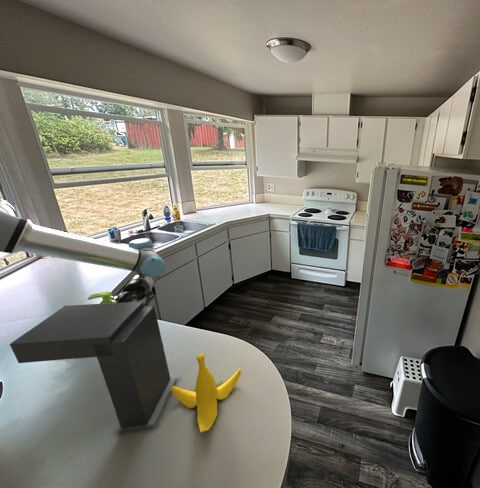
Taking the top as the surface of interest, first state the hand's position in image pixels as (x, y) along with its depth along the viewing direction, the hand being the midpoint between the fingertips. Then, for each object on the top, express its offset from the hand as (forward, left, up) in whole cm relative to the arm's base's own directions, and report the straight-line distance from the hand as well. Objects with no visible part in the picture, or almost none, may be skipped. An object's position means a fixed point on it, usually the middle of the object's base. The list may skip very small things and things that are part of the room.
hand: (108, 326), depth 73 cm
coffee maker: (+7, -12, -18) cm, 23 cm away
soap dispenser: (0, +4, -11) cm, 12 cm away
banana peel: (+30, -16, -18) cm, 38 cm away
